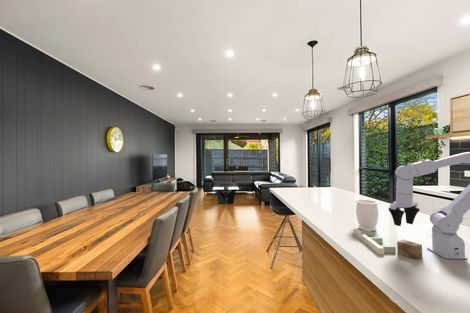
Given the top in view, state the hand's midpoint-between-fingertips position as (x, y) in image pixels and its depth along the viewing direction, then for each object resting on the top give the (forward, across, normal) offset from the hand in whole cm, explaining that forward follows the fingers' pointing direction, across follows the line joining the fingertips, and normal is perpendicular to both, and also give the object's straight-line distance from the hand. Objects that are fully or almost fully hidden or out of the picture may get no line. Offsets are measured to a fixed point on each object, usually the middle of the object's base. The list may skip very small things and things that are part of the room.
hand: (403, 224), depth 94 cm
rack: (+10, +7, -8) cm, 15 cm away
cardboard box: (+10, +5, +6) cm, 13 cm away
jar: (+11, -8, -23) cm, 27 cm away
